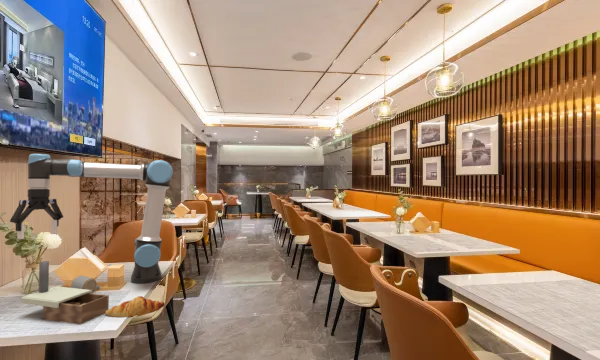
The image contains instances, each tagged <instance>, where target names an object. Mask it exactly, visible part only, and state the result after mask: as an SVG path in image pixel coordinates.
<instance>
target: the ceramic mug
mask: <svg viewBox="0 0 600 360" xmlns="http://www.w3.org/2000/svg"><path fill="white" fill-rule="evenodd" d="M70 286H71V287H70V288H77V289H86V290H92V293H93V292H94V291H95V289H96V290H100V287H101V286H100V285H98V283H97V280H96V279H95V278H93V277H90V276H89V277H88V276H86V275H79V276H77V277H75V278H74V279H73V281H71V285H70Z"/></svg>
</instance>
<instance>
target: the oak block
mask: <svg viewBox="0 0 600 360" xmlns="http://www.w3.org/2000/svg"><path fill="white" fill-rule="evenodd" d="M67 304H73V305H80V302H70V303H67Z"/></svg>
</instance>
